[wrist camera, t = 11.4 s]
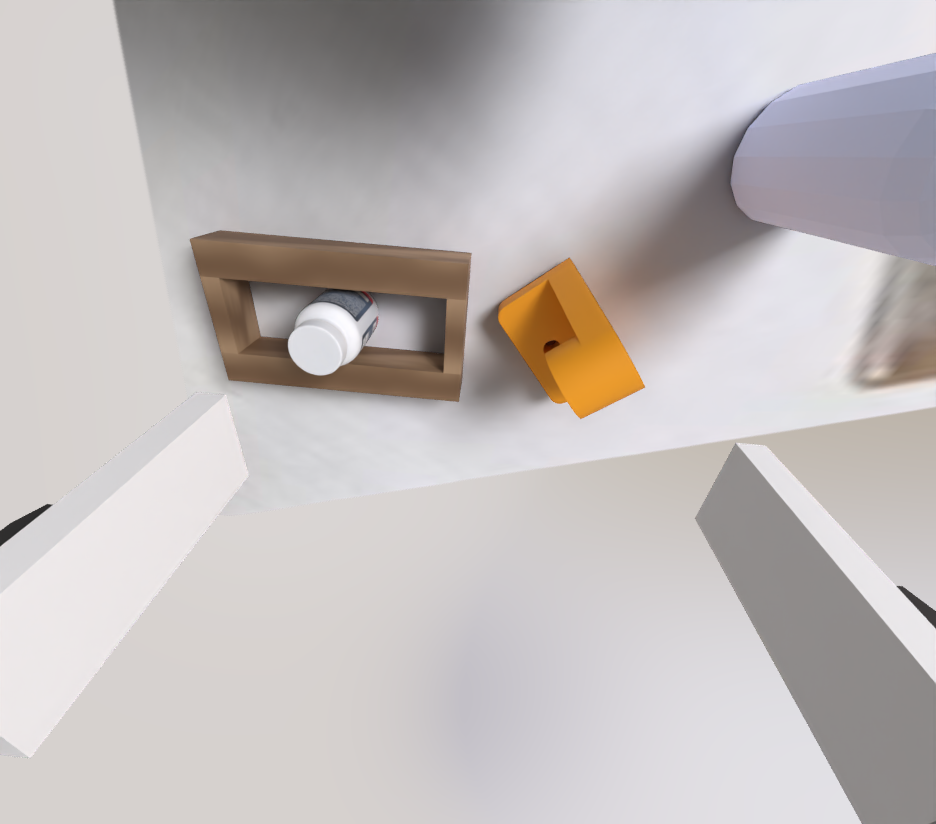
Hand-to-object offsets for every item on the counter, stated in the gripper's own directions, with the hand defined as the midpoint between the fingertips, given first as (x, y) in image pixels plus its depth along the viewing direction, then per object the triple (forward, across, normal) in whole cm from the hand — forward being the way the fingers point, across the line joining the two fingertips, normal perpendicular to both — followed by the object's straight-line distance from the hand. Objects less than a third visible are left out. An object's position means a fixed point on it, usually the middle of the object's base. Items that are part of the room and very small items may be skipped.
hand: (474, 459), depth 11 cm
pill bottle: (+27, -12, -6) cm, 30 cm away
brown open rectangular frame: (+27, -12, -6) cm, 30 cm away
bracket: (+27, +7, -6) cm, 29 cm away
